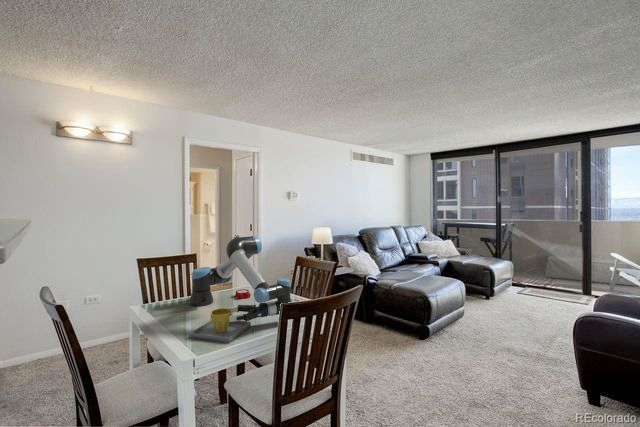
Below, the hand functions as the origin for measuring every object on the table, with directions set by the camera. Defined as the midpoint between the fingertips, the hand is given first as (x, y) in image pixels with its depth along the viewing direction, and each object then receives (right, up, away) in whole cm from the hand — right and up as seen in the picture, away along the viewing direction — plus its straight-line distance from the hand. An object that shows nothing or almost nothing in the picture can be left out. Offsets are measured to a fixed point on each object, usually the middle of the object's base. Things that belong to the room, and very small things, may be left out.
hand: (227, 314), depth 164 cm
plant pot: (-3, -8, -1) cm, 8 cm away
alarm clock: (-7, -8, +62) cm, 63 cm away
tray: (-3, -9, 0) cm, 9 cm away
